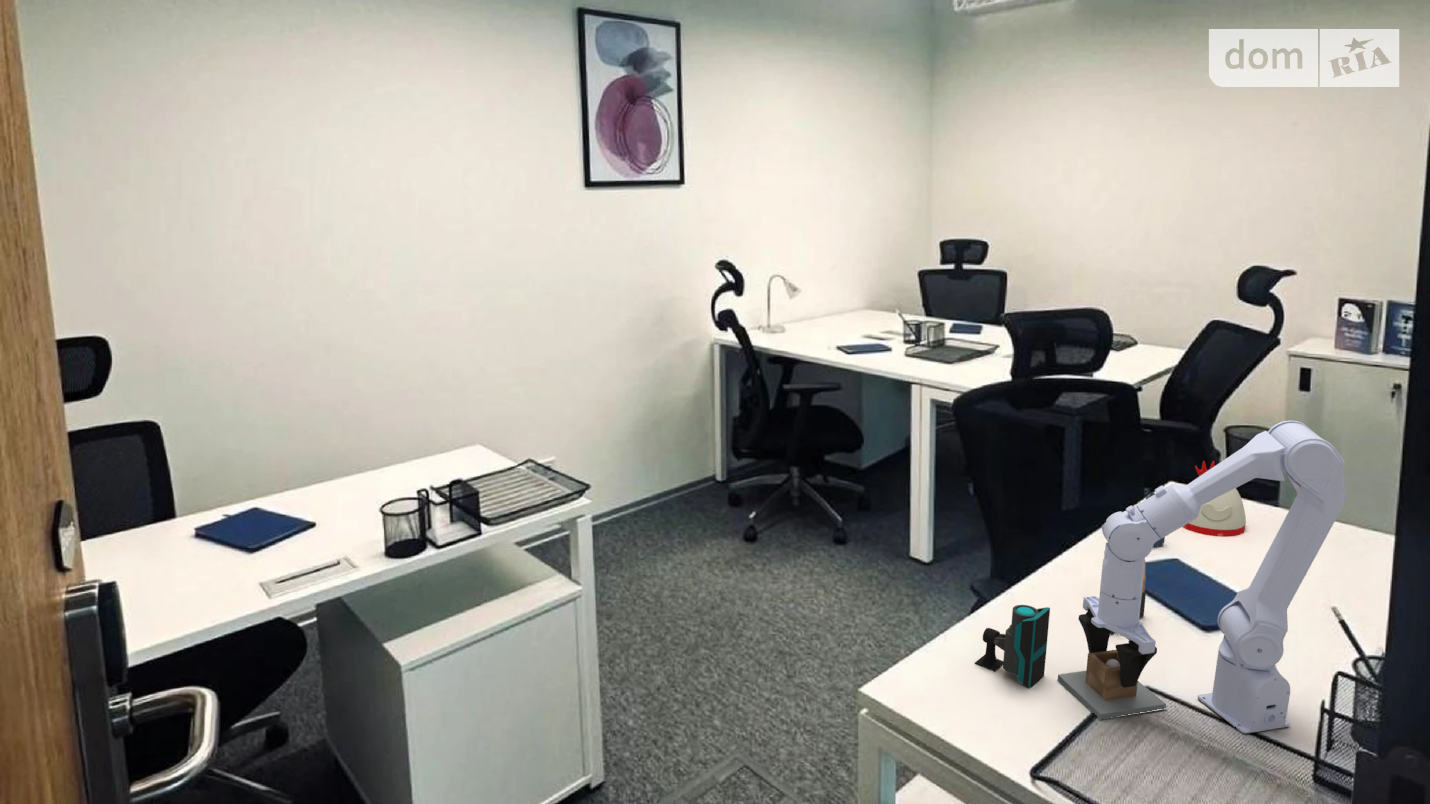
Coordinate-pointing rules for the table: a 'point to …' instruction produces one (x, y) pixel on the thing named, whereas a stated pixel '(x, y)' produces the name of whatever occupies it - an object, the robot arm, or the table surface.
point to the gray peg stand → (1109, 707)
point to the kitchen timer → (1219, 514)
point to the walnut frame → (1106, 676)
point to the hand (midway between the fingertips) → (1112, 672)
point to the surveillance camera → (1020, 645)
